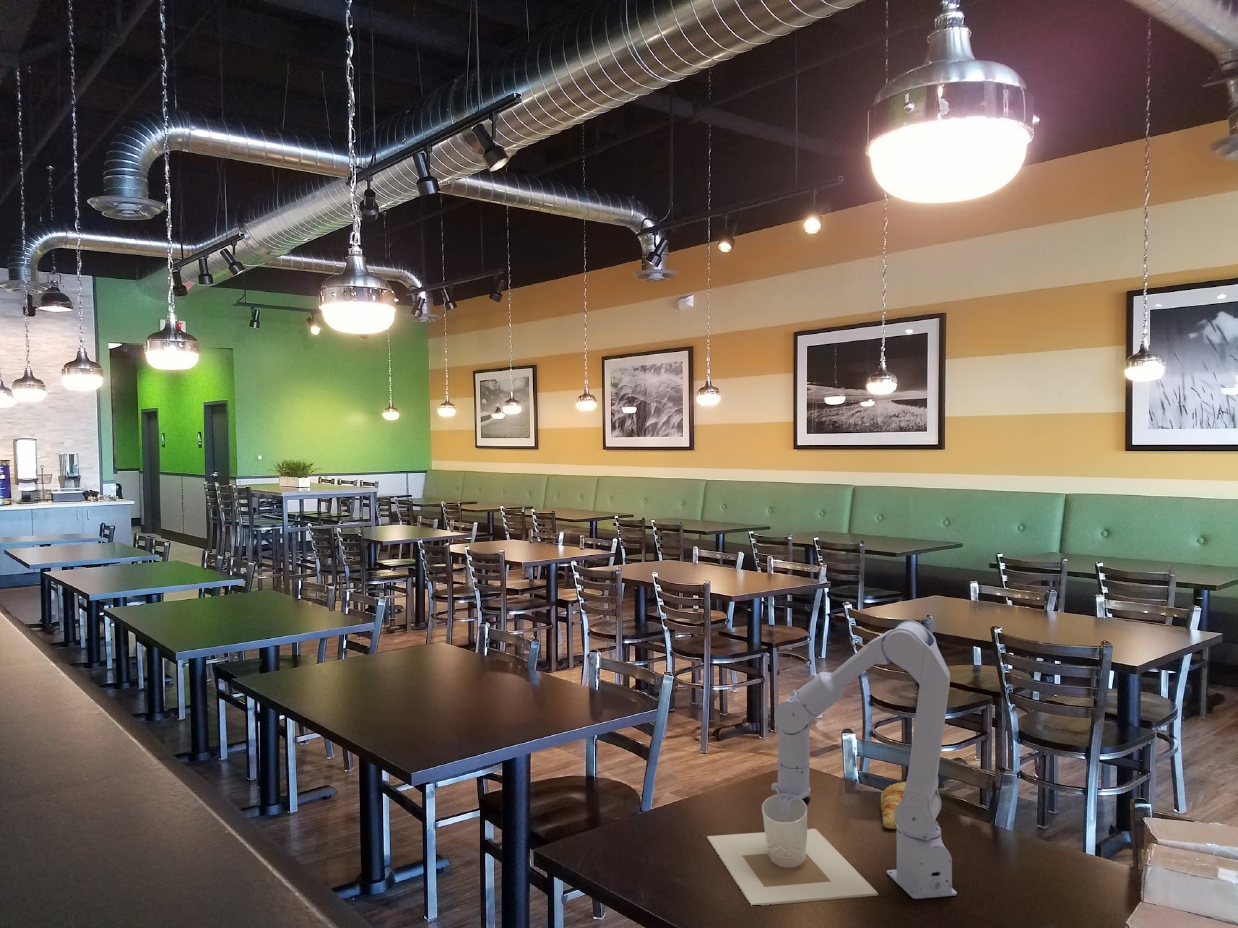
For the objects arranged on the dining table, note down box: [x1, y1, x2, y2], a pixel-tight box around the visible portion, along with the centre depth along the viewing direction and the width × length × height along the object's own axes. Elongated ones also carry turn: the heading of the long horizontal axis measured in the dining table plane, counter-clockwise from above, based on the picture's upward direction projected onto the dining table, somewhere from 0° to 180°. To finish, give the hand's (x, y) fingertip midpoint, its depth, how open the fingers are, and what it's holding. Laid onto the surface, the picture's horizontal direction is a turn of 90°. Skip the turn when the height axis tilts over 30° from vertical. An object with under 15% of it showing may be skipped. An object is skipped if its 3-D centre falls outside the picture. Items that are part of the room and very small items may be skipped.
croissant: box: [880, 781, 906, 830], centre depth 174 cm, size 21×10×8 cm, turn 142°
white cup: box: [761, 793, 808, 868], centre depth 151 cm, size 8×8×10 cm
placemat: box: [706, 828, 879, 907], centre depth 152 cm, size 26×22×1 cm
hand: (793, 837), depth 156 cm, fingers closed
